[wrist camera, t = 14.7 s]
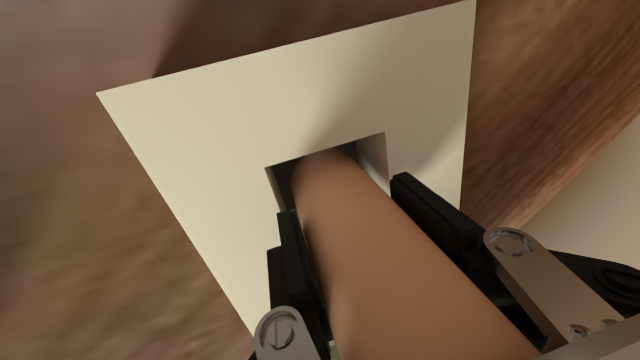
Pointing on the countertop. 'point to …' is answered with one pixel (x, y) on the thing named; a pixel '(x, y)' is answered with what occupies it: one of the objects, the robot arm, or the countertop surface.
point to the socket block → (299, 131)
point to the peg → (390, 274)
